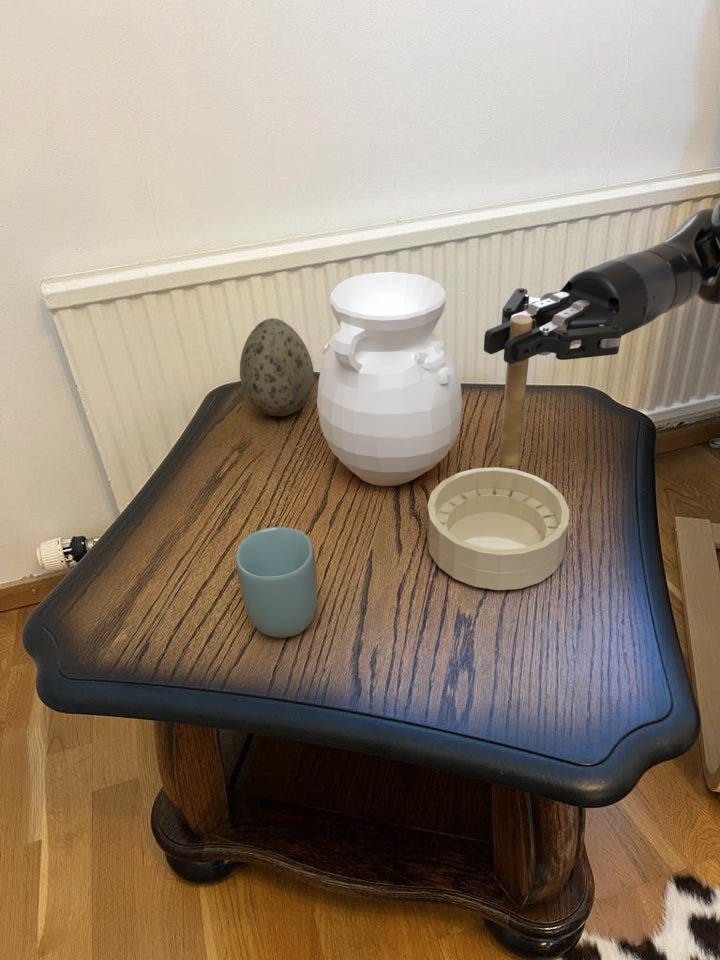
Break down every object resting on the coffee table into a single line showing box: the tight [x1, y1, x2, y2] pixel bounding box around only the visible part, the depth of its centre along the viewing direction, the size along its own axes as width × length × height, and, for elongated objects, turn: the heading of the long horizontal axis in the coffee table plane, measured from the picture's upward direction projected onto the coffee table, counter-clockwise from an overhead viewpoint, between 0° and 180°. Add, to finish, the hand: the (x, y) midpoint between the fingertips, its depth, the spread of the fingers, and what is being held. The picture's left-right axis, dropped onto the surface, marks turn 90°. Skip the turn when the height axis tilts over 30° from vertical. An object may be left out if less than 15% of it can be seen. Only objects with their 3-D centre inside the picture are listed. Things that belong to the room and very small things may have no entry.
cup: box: [235, 526, 318, 639], centre depth 78 cm, size 8×8×10 cm
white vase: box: [316, 271, 463, 487], centre depth 95 cm, size 19×18×25 cm
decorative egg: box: [239, 317, 315, 418], centre depth 111 cm, size 11×11×15 cm
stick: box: [498, 315, 533, 467], centre depth 74 cm, size 2×2×16 cm
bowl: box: [426, 466, 571, 591], centre depth 87 cm, size 16×16×6 cm
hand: (497, 348), depth 70 cm, fingers closed on stick, 2 cm apart
